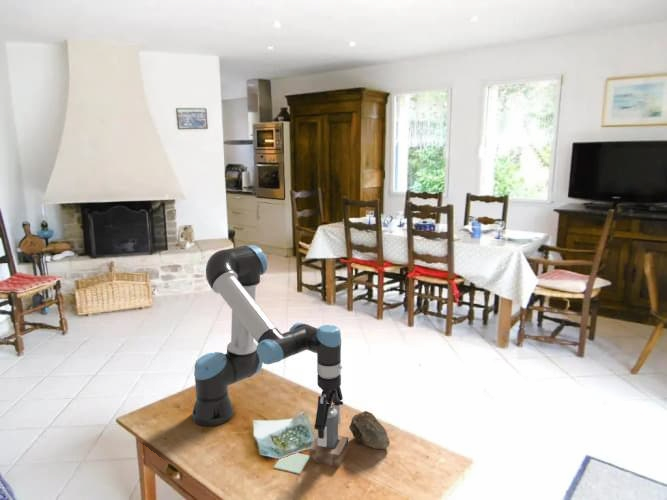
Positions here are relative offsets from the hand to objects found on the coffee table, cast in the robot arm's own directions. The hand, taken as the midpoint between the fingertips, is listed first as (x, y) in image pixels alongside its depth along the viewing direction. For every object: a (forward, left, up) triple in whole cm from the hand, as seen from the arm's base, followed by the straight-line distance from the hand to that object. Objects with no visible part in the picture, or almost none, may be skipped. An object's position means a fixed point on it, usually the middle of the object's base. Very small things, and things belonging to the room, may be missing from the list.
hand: (329, 433), depth 155 cm
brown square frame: (0, 0, -8) cm, 8 cm away
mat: (-10, -7, -8) cm, 15 cm away
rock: (+11, +11, -8) cm, 18 cm away
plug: (0, 0, -8) cm, 8 cm away
